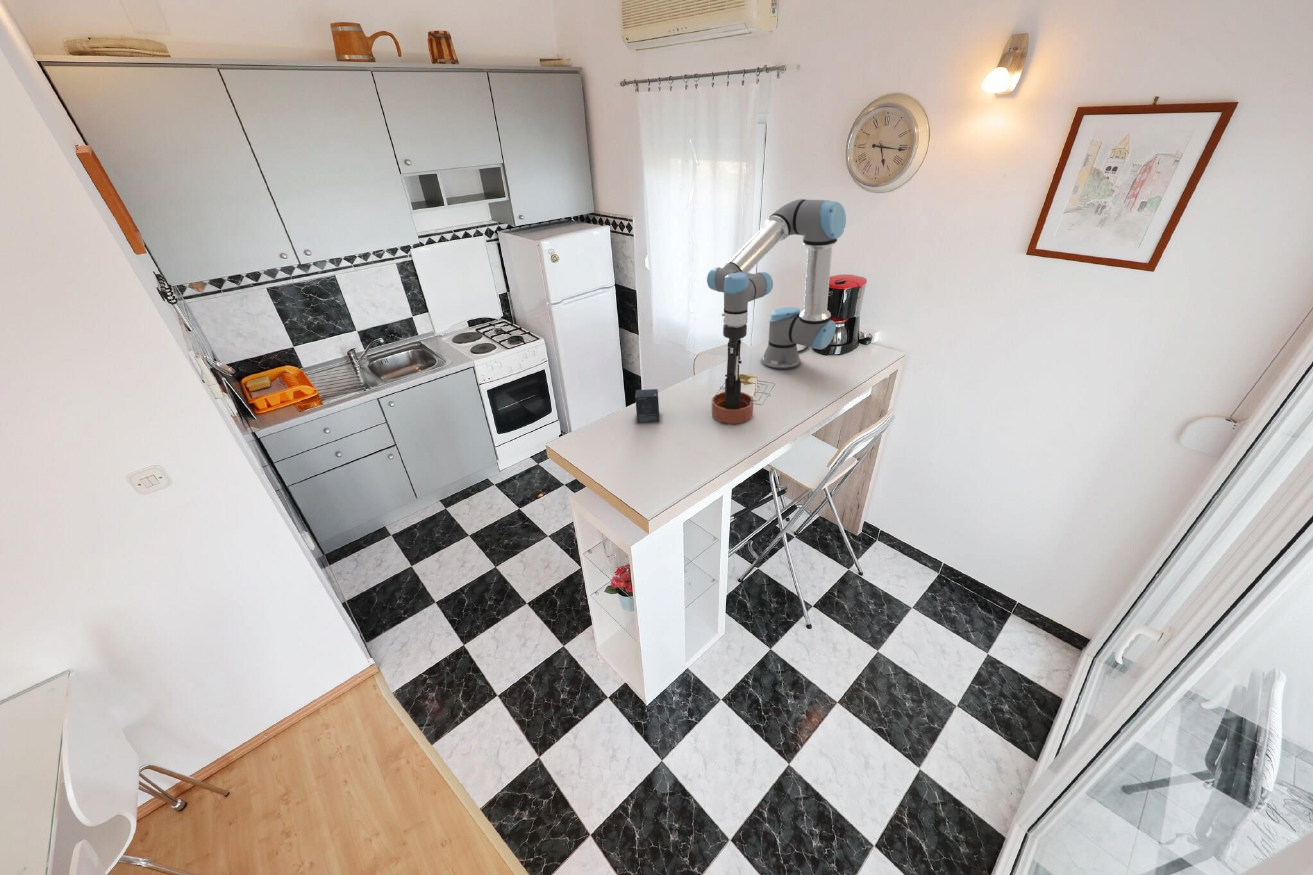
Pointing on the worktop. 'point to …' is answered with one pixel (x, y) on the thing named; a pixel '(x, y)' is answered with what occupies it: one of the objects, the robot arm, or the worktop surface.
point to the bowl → (732, 414)
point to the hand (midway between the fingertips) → (732, 387)
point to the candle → (733, 399)
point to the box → (647, 405)
